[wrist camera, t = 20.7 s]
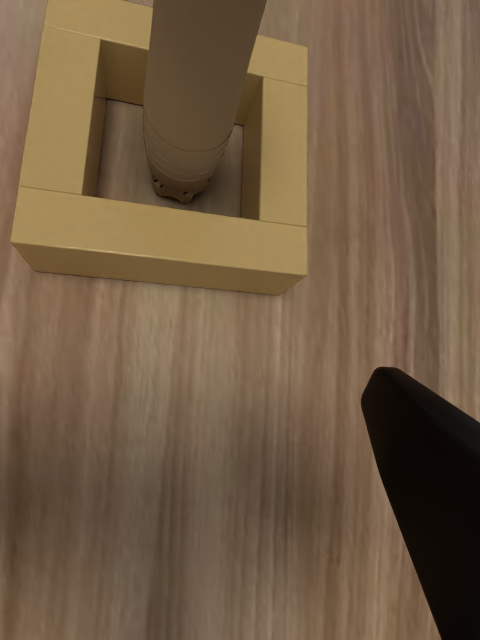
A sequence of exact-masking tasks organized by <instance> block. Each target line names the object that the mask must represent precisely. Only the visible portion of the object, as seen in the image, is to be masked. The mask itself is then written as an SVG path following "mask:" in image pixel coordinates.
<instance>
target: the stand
mask: <svg viewBox="0 0 480 640" xmlns="http://www.w3.org/2000/svg"><path fill="white" fill-rule="evenodd" d="M152 13H153V8H152V7H148V6H144V5H140V4H136V3H132V2H128V1H125V0H48V1H47V7H46V14H45V20H44V26H43V32H42V38H41V45H40V51H39V58H38V64H37V71H36V77H35V83H34V90H33V96H32V103H31V109H30V115H29V122H28V128H27V135H26V141H25V147H24V154H23V160H22V167H21V173H20V179H19V188H18V194H17V200H16V207H15V213H14V220H13V226H12V232H11V239H10V241H11V243H12V244H13V245H14V247H15V248H16V249H17V250H18V252H19V253H20V254H21V255H22V256H23V258H24V259H25V260H26V261H27V262H28V264H29V265H30V266H31V267H32V269H33V270H34V271H40V272H51V273H61V274H71V275H81V276H91V277H101V278H111V279H121V280H131V281H141V282H151V283H161V284H171V285H181V286H191V287H201V288H212V289H222V290H232V291H242V292H252V293H262V294H272V295H281V294H282V293H283V292H285V291H286V290H288V289H289V288H290V287H292V286H293V285H294V284H296V283H297V282H299V281H300V280H301V279H303V278H304V277H306V276H307V86H308V48H307V47H305V46H301V45H297V44H293V43H289V42H286V41H282V40H278V39H274V38H270V37H266V36H262V35H258V34H257V37H256V41H255V44H254V48H253V52H252V55H251V59H250V63H249V67H248V71H247V75H246V79H245V83H244V87H243V91H242V95H241V99H240V103H239V107H238V111H237V115H236V119H235V122H234V123H235V124H240V125H244V142H243V170H242V197H241V218H237V217H230V216H223V215H216V214H209V213H202V212H195V211H188V210H181V209H174V208H167V207H160V206H153V205H146V204H139V203H132V202H125V201H118V200H111V199H104V198H97V197H96V189H97V180H98V172H99V163H100V154H101V145H102V137H103V128H104V119H105V110H106V101H107V98H109V99H114V100H119V101H124V102H129V103H134V104H139V105H143V101H144V100H143V97H144V88H145V79H146V70H147V61H148V52H149V43H150V34H151V24H152Z"/></svg>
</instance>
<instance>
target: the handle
mask: <svg viewBox="0 0 480 640" xmlns="http://www.w3.org/2000/svg"><path fill="white" fill-rule="evenodd" d="M266 1H267V0H154V2H153V13H152V24H151V34H150V43H149V52H148V61H147V70H146V79H145V88H144V97H143V100H144V101H143V129H144V142H145V150H146V156H147V160H148V164H149V167H150V169H151V171H152V173H153V178H152V182H153V187H154V189H155V191H156V192H157V193H158V194H159V195H161V196H170V197H174V198H176V199H178V200H179V201H180V202H182V203H186V202H189V201H190V200H191V199H192V196H193V195H194V194H196V193H197V192H202V191H203V190H204V189H205V188H206V186H207V184H208V182H209V180H210V176H211V175H212V174H213V172H214V170H215V169H216V167H217V165H218V163H219V161H220V159H221V157H222V155H223V153H224V151H225V149H226V146H227V143H228V141H229V138H230V135H231V132H232V129H233V126H234V122H235V119H236V115H237V111H238V107H239V103H240V99H241V95H242V91H243V87H244V83H245V79H246V75H247V71H248V67H249V63H250V59H251V55H252V52H253V48H254V44H255V41H256V37H257V34H258V30H259V26H260V23H261V19H262V15H263V12H264V8H265V5H266Z"/></svg>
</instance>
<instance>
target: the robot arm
mask: <svg viewBox="0 0 480 640" xmlns="http://www.w3.org/2000/svg"><path fill="white" fill-rule="evenodd" d="M361 407H362V411H363V415H364V419H365V422H366V426H367V430H368V434H369V437H370V441H371V445H372V449H373V452H374V456H375V460H376V464H377V467H378V470H379V474H380V477H381V479H382V482H383V485H384V488H385V491H386V493H387V496H388V498H389V501H390V504H391V506H392V509H393V512H394V514H395V517H396V520H397V522H398V525H399V528H400V530H401V533H402V536H403V538H404V541H405V544H406V546H407V549H408V552H409V554H410V557H411V559H412V562H413V565H414V567H415V570H416V573H417V575H418V578H419V581H420V583H421V586H422V589H423V591H424V594H425V597H426V599H427V602H428V605H429V607H430V610H431V613H432V615H433V618H434V620H435V623H436V626H437V628H438V631H439V634H440V636H441V639H442V640H480V423H479V422H478V421H476V420H475V419H473V418H472V417H470V416H469V415H467V414H466V413H464V412H463V411H461V410H460V409H458V408H457V407H455V406H454V405H452V404H451V403H449V402H448V401H446V400H445V399H443V398H442V397H440V396H439V395H437V394H436V393H434V392H433V391H431V390H430V389H428V388H427V387H425V386H424V385H422V384H421V383H419V382H418V381H416V380H415V379H413V378H412V377H410V376H409V375H407V374H406V373H404V372H403V371H401V370H400V369H398V368H394V367H378V368H376V369H375V370H374V372H373V374H372V376H371V378H370V380H369V382H368V384H367V386H366V388H365V390H364V392H363V394H362V398H361Z"/></svg>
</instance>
